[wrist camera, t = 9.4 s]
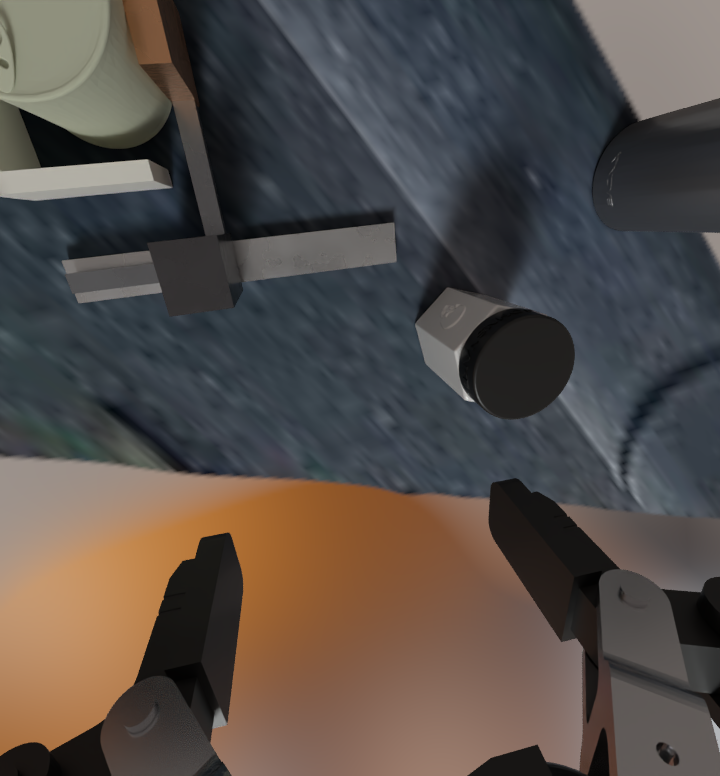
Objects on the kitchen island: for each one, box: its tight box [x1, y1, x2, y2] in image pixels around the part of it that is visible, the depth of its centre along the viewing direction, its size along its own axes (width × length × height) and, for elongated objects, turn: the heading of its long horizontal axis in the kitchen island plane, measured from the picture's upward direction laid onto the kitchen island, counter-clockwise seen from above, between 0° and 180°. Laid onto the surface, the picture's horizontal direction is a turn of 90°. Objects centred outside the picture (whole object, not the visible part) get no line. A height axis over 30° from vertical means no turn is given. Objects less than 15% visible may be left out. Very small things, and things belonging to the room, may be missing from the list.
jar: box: [415, 288, 575, 419], centre depth 33 cm, size 9×8×12 cm
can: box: [0, 0, 172, 149], centre depth 20 cm, size 9×9×12 cm
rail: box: [62, 223, 396, 303], centre depth 32 cm, size 26×3×1 cm, turn 95°
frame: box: [0, 99, 173, 201], centre depth 23 cm, size 10×14×5 cm, turn 5°
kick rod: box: [65, 0, 243, 316], centre depth 24 cm, size 12×18×8 cm
